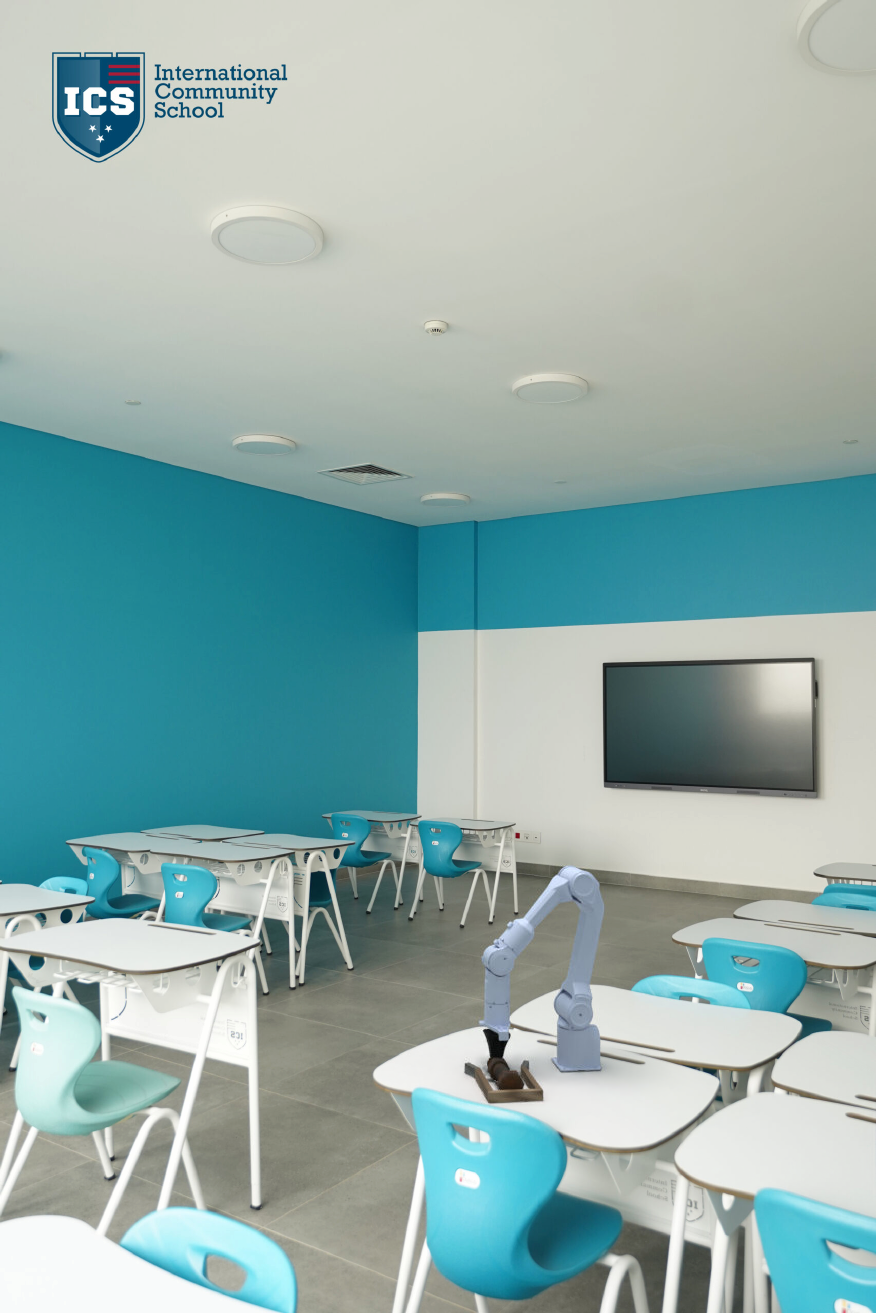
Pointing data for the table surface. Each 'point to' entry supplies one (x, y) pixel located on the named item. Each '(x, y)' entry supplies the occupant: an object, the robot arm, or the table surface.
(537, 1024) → the table surface
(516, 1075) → the bolt
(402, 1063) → the table surface
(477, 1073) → the frame
